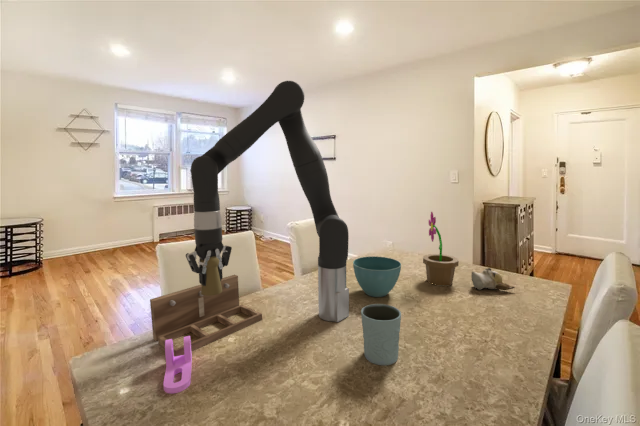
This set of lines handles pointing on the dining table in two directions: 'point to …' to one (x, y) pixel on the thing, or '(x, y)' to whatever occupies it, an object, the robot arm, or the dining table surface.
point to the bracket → (177, 367)
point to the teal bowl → (376, 274)
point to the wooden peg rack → (198, 314)
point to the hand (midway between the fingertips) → (211, 282)
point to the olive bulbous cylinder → (212, 278)
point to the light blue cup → (381, 333)
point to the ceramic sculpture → (489, 280)
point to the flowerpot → (439, 261)
